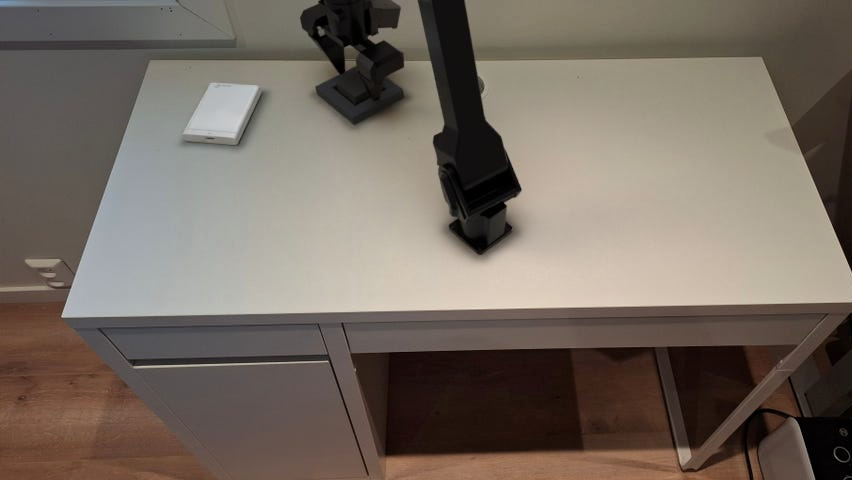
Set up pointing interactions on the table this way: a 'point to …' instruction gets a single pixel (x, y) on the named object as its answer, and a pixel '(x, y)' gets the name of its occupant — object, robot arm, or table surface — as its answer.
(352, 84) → the black block
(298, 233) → the table surface
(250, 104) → the hard drive
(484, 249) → the robot arm
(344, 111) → the dark grey square frame
